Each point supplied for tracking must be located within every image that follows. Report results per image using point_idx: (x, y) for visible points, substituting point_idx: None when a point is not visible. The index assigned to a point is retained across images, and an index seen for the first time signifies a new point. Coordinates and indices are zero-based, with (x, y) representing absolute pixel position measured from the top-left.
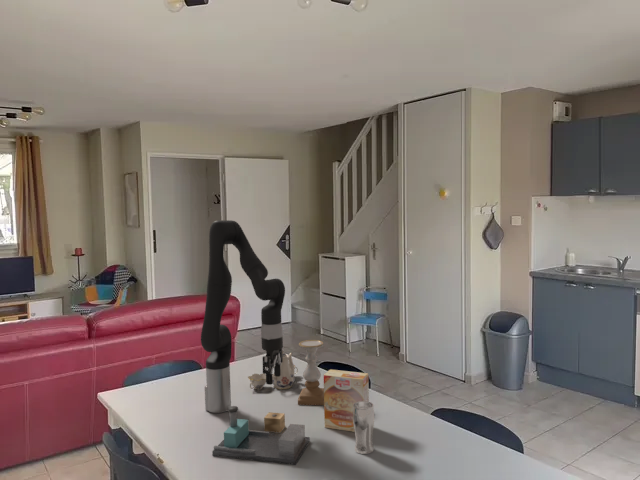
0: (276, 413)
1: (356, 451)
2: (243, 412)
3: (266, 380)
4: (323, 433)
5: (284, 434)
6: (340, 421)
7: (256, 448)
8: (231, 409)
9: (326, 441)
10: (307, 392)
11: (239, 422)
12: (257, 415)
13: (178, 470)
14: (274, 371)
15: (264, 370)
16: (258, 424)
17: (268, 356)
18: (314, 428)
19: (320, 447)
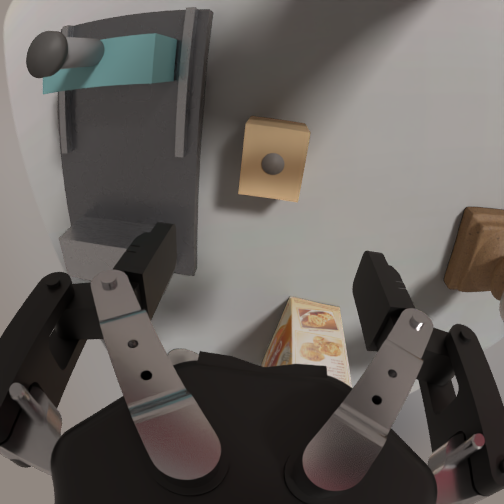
0: (297, 168)
1: (171, 351)
2: (416, 14)
3: (130, 245)
4: (252, 295)
5: (87, 248)
6: (274, 346)
7: (93, 144)
8: (29, 58)
9: (206, 303)
10: (487, 255)
11: (122, 58)
12: (393, 66)
13: (14, 7)
14: (376, 273)
15: (48, 305)
16: (310, 80)
17: (28, 463)
18: (284, 272)
19: (172, 292)
